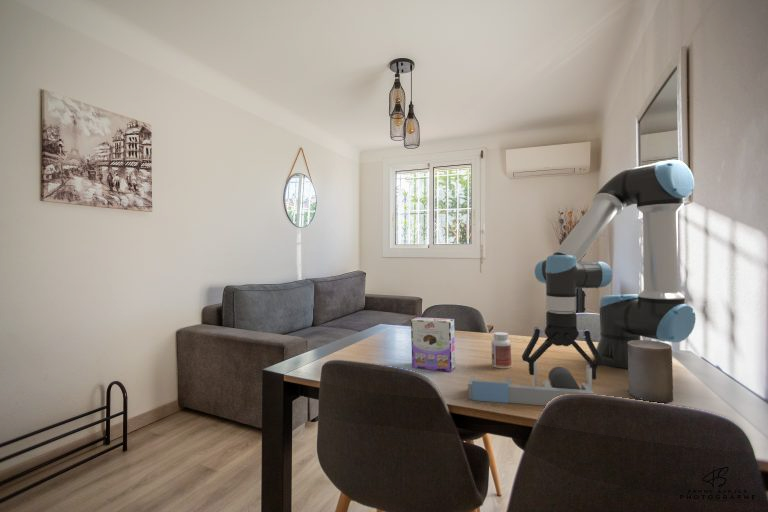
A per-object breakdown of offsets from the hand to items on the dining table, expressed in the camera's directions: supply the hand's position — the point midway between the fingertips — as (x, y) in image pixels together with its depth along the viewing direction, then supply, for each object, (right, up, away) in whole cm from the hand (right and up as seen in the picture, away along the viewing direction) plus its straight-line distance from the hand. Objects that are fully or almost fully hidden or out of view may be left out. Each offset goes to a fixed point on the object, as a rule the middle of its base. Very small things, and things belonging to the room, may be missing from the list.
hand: (561, 388), depth 104 cm
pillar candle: (+21, -1, -4) cm, 22 cm away
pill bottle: (-9, -1, +24) cm, 25 cm away
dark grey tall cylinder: (0, -1, -2) cm, 3 cm away
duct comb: (-11, -1, -5) cm, 12 cm away
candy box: (-32, -1, +24) cm, 40 cm away
